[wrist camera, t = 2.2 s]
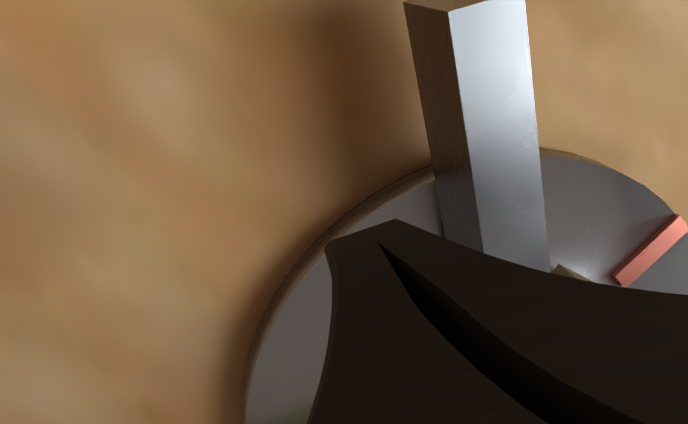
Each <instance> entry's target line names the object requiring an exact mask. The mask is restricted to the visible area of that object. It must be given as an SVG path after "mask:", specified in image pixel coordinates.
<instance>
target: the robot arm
mask: <svg viewBox="0 0 688 424" xmlns="http://www.w3.org/2000/svg"><path fill="white" fill-rule="evenodd" d="M324 252H325V255H326V259H327V262H328V266H329V269H330V273H331V276H332V310H331V320H330V329H329V337H328V344H327V350H326V356H325V360H324V365H323V369H322V374H321V378H320V382H319V386H318V389H317V392H316V395H315V399H314V402H313V405H312V408H311V412H310V415H309V418H308V421H307V424H688V295H685V294H673V293H663V292H656V291H648V290H641V289H633V288H626V287H618V286H612V285H606V284H600V283H595V282H589V281H585V280H580V279H576V278H571V277H566V276H562V275H557V274H552V273H548V272H544V271H541V270H537V269H533V268H529V267H526V266H523V265H519V264H516V263H513V262H510V261H506V260H503V259H500V258H497V257H494V256H491V255H488V254H485V253H482V252H479V251H476V250H474V249H471V248H468V247H466V246H463V245H460V244H458V243H455V242H453V241H450V240H448V239H445V238H443V237H440V236H438V235H435V234H433V233H430V232H428V231H426V230H423V229H421V228H418V227H416V226H414V225H411V224H409V223H406V222H404V221H401V220H398V219H392V220H389V221H386V222H384V223H381V224H378V225H375V226H372V227H369V228H366V229H363V230H360V231H357V232H354V233H351V234H348V235H345V236H342V237H340V238H337V239H334V240H331V241H328V243H327V245H326V246H325V248H324Z"/></svg>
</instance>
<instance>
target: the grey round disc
mask: <svg viewBox="0 0 688 424" xmlns="http://www.w3.org/2000/svg"><path fill="white" fill-rule="evenodd" d="M539 156H540V167H541V177H542V188H543V199H544V209H545V220H546V231H547V241H548V252H549V263H550V273H552V272H553V270H554V269H555V267H556V266H557V264H558V263H559V264H561V265H563V266H564V267H566V268H568V269H570V270H572V271H574V272H576V273H578V274H580V275H582V276H583V277H585V278H587V279H589V280H591V281H593V282H595V283H600V284H606V285H612V286H618V287H626V288H633V289H641V290H648V291H656V292H663V293H673V294H685V295H688V232H687V231H688V226H687V225H686V223H685V222H684V221H683V219H682V218H681V216H679V215H678V214H675V213H674V212H673V211H672V210H671V209H670V208H669V206H668V205H667V204H666V203H665V202H664V201H663V200H662V199H660V198H659V197H658V196H657V195H655V194H654V193H653V192H652V191H650V190H649V189H648V188H647V187H645V186H644V185H642V184H640V183H638V182H636V181H635V180H633V179H631V178H629V177H627V176H625V175H623V174H621V173H620V172H618V171H615V170H613V169H611V168H609V167H607V166H605V165H603V164H601V163H599V162H597V161H594V160H591V159H588V158H585V157H582V156H579V155H576V154H573V153H569V152H563V151H557V150H551V149H544V148H539ZM392 219H398V220H401V221H404V222H406V223H409V224H411V225H414V226H416V227H418V228H421V229H423V230H426V231H428V232H430V233H433V234H435V235H438V236H440V237H443V238H445V232H444V227H443V221H442V216H441V210H440V205H439V199H438V193H437V188H436V182H435V177H434V171H433V166H432V165H431V166H428V167H426V168H423V169H421V170H418V171H416V172H413V173H411V174H408V175H407V176H405V177H403V178H401V179H399V180H397V181H396V182H394V183H392V184H390V185H388V186H386V187H385V188H383V189H381V190H379V191H377V192H376V193H374V194H373V195H371V196H370V197H368V198H367V199H366V200H364V201H363V202H361V203H360V204H359V205H357V206H356V207H354V208H353V209H351V210H350V211H349V212H347V213H346V214H345V215H344V216H342V217H341V218H340V219H339V220H338V221H337V222H336V223H335V224H334V225H332V226H331V227H330V228H329V229H328V230H327V231H326V232H325V233H323V234H322V235H321V236H320V237H319V238H318V239H317V240H316V241H315V242H314V244H313V245H312V246H311V247H310V248H309V249H308V250H307V251H306V253H305V254H304V255H303V256H302V257H301V258H300V259H299V261H298V262H297V263H296V264H295V265H294V266H293V268H292V269H291V271H290V272H289V274H288V275H287V277H286V278H285V280H284V281H283V282H282V284H281V285H280V287H279V288H278V290H277V291H276V293H275V294H274V296H273V298H272V300H271V302H270V304H269V306H268V308H267V310H266V312H265V314H264V316H263V318H262V320H261V322H260V324H259V326H258V329H257V332H256V335H255V337H254V340H253V343H252V346H251V349H250V352H249V355H248V360H247V366H246V371H245V376H244V381H243V402H242V413H243V421H244V424H307V421H308V418H309V415H310V412H311V408H312V405H313V402H314V399H315V395H316V392H317V389H318V386H319V382H320V378H321V374H322V369H323V365H324V360H325V356H326V350H327V344H328V337H329V329H330V320H331V310H332V276H331V273H330V269H329V266H328V262H327V259H326V255H325V252H324V248H325V246H326V245H327V243H328V241H331V240H334V239H337V238H340V237H342V236H345V235H348V234H351V233H354V232H357V231H360V230H363V229H366V228H369V227H372V226H375V225H378V224H381V223H384V222H386V221H389V220H392ZM445 239H446V238H445Z"/></svg>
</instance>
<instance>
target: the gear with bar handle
mask: <svg viewBox="0 0 688 424" xmlns="http://www.w3.org/2000/svg"><path fill="white" fill-rule="evenodd" d="M403 5H404V10H405V16H406V21H407V27H408V32H409V38H410V44H411V49H412V55H413V60H414V66H415V71H416V77H417V82H418V88H419V94H420V99H421V105H422V110H423V116H424V121H425V127H426V132H427V138H428V144H429V149H430V155H431V160H432V166H433V171H434V177H435V182H436V188H437V193H438V199H439V205H440V210H441V216H442V221H443V227H444V232H445V238H446V239H448V240H450V241H453V242H455V243H458V244H460V245H463V246H466V247H468V248H471V249H474V250H476V251H479V252H482V253H485V254H488V255H491V256H494V257H497V258H500V259H503V260H506V261H510V262H513V263H516V264H519V265H523V266H526V267H529V268H533V269H537V270H541V271H544V272H548V273H550V263H549V252H548V241H547V231H546V220H545V209H544V199H543V188H542V177H541V167H540V156H539V146H538V135H537V124H536V114H535V103H534V92H533V82H532V71H531V60H530V50H529V39H528V28H527V18H526V7H525V0H408V1H404V2H403ZM552 274H557V275H562V276H566V277H571V278H576V279H580V280H585V281H589V282H593V281H591V280H589V279H587V278H585V277H583V276H582V275H580V274H578V273H576V272H574V271H572V270H570V269H568V268H566V267H564V266H563V265H561V264H559V263H558V264H557V266H556V267H555V269H554V270H553V272H552Z"/></svg>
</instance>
